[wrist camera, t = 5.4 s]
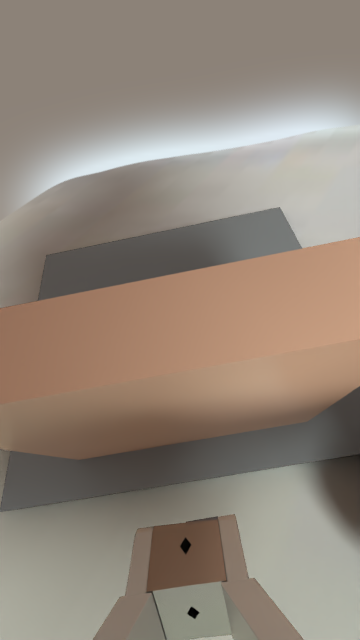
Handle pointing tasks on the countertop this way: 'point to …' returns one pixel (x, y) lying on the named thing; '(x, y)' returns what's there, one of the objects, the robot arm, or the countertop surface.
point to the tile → (182, 355)
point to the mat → (194, 456)
